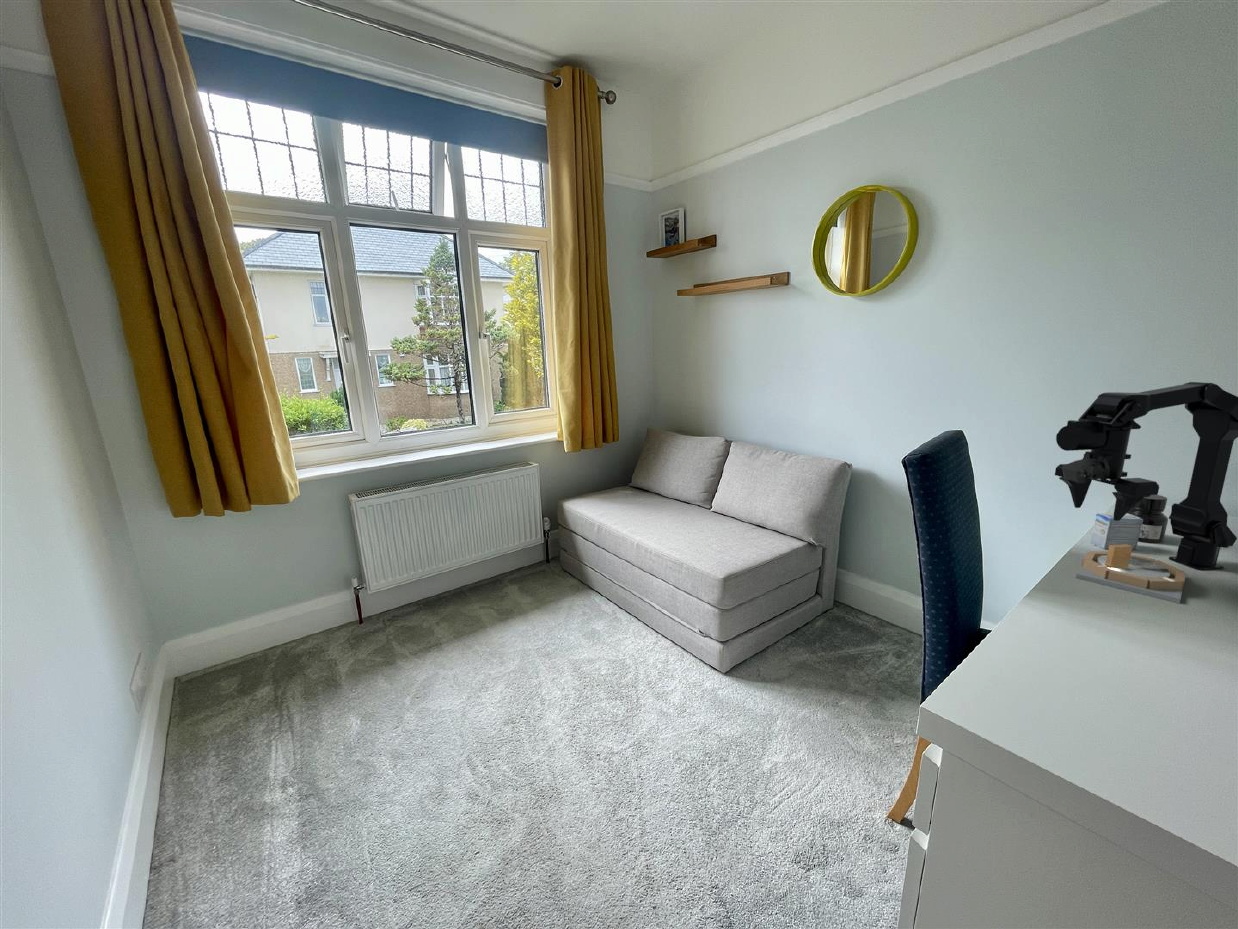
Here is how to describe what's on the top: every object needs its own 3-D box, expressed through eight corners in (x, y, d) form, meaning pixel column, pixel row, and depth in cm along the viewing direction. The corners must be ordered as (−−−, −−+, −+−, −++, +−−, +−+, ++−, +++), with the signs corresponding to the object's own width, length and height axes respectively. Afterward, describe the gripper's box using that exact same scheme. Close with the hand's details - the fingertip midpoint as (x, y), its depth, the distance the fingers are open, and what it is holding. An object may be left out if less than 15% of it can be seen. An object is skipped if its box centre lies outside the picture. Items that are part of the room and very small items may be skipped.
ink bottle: (1108, 534, 138) (1117, 493, 135) (1123, 529, 141) (1132, 489, 138) (1156, 546, 129) (1166, 503, 126) (1171, 540, 132) (1181, 498, 130)
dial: (1128, 560, 118) (1134, 534, 117) (1184, 582, 107) (1191, 554, 105) (1081, 562, 118) (1087, 536, 116) (1133, 585, 107) (1139, 556, 105)
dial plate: (1089, 556, 124) (1092, 544, 124) (1184, 576, 112) (1187, 564, 111) (1076, 577, 113) (1078, 565, 113) (1179, 603, 101) (1182, 589, 100)
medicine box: (1121, 543, 131) (1128, 512, 130) (1136, 550, 127) (1144, 518, 125) (1089, 543, 132) (1095, 512, 130) (1103, 549, 128) (1110, 518, 126)
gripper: (1038, 442, 120) (1028, 503, 123) (1117, 459, 101) (1103, 529, 105) (1082, 440, 120) (1071, 501, 123) (1168, 456, 102) (1152, 527, 105)
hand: (1096, 513), depth 114 cm, fingers open, 9 cm apart
